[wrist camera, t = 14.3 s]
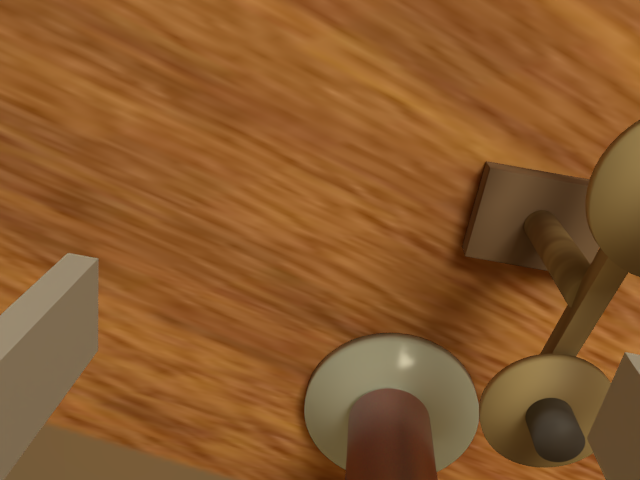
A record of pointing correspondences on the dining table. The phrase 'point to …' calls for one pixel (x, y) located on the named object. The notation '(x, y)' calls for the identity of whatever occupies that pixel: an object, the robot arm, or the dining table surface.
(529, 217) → the balance
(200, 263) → the dining table surface
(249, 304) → the dining table surface
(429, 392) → the dish
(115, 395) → the dining table surface
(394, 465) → the beverage can
